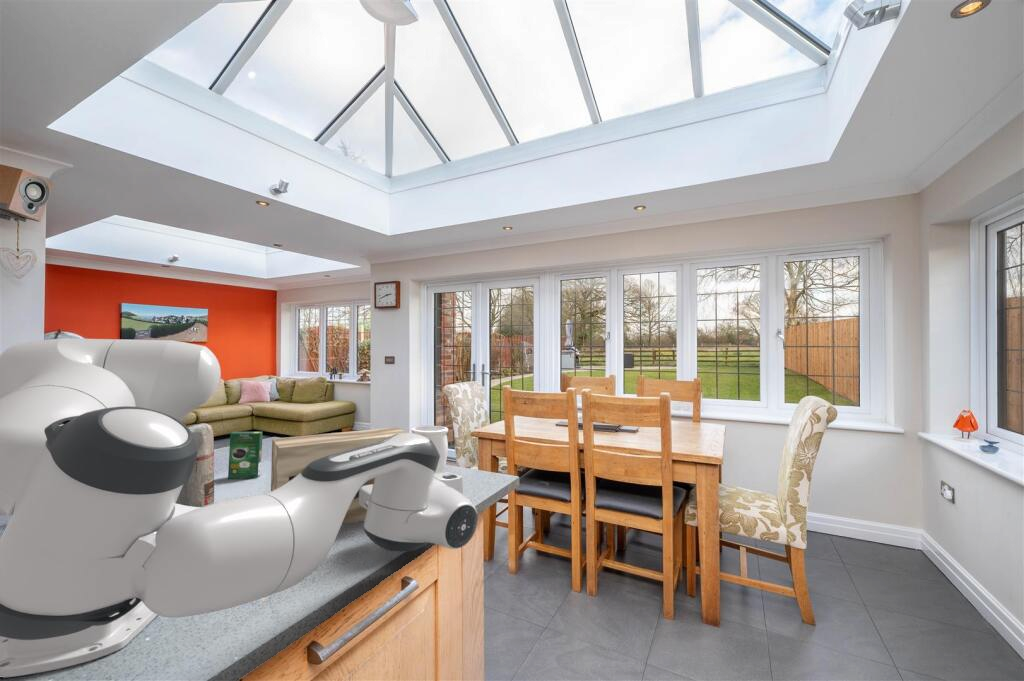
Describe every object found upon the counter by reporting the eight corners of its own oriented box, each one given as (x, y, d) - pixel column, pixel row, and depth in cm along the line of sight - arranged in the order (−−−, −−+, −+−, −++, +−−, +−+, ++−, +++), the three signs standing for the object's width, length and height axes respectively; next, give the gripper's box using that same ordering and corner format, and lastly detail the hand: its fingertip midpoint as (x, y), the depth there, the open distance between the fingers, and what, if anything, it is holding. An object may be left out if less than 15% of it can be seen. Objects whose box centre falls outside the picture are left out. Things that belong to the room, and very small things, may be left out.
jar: (454, 477, 128) (455, 427, 129) (433, 487, 119) (434, 433, 119) (424, 472, 133) (425, 423, 133) (402, 482, 123) (403, 429, 124)
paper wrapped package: (190, 522, 93) (193, 429, 94) (159, 518, 95) (162, 426, 95) (223, 508, 102) (226, 422, 102) (194, 504, 103) (197, 420, 104)
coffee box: (262, 475, 128) (263, 430, 128) (258, 478, 125) (260, 432, 125) (231, 476, 126) (232, 431, 126) (227, 479, 123) (228, 433, 123)
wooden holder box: (410, 510, 102) (411, 433, 103) (276, 538, 86) (278, 447, 86) (394, 497, 110) (396, 427, 111) (269, 521, 94) (272, 438, 94)
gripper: (370, 527, 78) (349, 504, 90) (468, 505, 90) (439, 487, 101) (370, 492, 78) (349, 473, 90) (469, 474, 90) (439, 460, 102)
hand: (398, 480), depth 96 cm, fingers closed
